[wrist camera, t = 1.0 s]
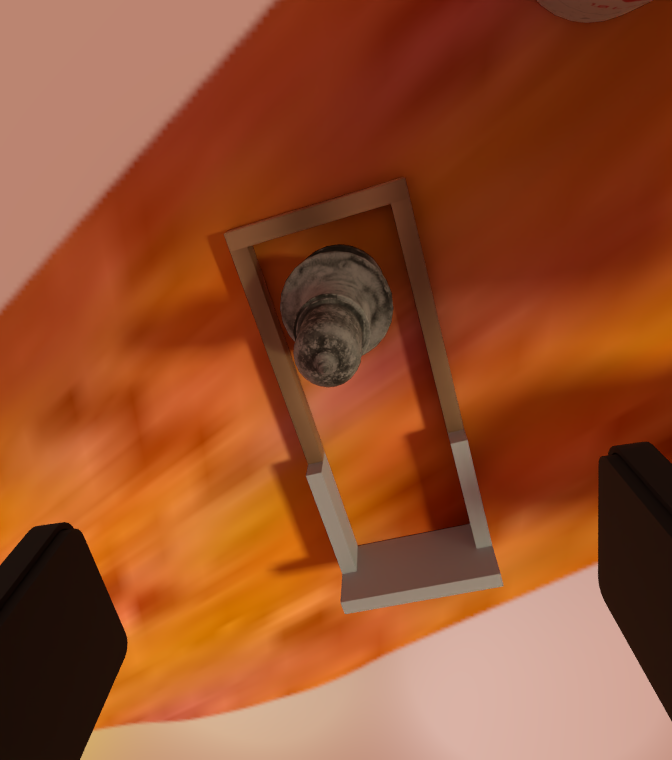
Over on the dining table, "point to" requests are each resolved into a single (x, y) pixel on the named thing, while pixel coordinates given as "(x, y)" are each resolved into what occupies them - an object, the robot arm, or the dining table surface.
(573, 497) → the dining table surface
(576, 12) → the thermos bottle
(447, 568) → the socket
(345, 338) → the dark grey chess piece
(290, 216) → the channel
